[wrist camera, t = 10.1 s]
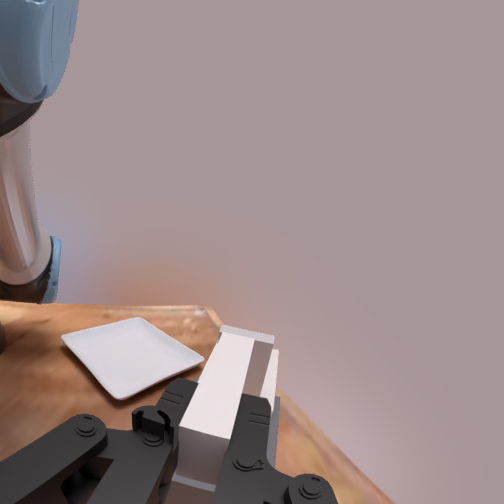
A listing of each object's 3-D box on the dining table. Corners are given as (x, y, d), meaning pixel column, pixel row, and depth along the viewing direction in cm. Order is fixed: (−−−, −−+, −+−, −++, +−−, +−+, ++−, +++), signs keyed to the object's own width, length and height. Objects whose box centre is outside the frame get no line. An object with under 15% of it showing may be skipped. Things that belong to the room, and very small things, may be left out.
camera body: (193, 412, 43) (199, 368, 42) (267, 429, 43) (281, 386, 41) (149, 509, 24) (145, 470, 22) (252, 535, 23) (271, 501, 21)
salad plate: (205, 371, 57) (208, 356, 56) (118, 414, 39) (117, 398, 38) (138, 327, 67) (139, 314, 67) (59, 349, 49) (58, 335, 49)
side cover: (218, 342, 50) (228, 286, 48) (277, 355, 49) (291, 300, 47) (191, 398, 34) (200, 329, 32) (271, 416, 33) (291, 349, 31)
